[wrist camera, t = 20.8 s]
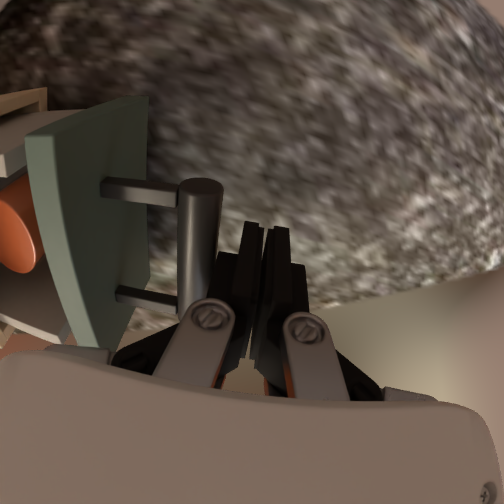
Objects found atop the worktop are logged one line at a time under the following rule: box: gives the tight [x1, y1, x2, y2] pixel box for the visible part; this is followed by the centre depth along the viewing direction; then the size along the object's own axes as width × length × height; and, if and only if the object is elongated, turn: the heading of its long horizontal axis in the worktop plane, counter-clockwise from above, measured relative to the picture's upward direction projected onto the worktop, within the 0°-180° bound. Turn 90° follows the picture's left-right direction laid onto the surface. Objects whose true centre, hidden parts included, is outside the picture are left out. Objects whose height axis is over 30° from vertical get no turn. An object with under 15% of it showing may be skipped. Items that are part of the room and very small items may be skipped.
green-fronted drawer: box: [0, 96, 224, 352], centre depth 11 cm, size 17×10×7 cm, turn 81°
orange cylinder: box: [0, 170, 46, 273], centre depth 12 cm, size 4×4×4 cm
